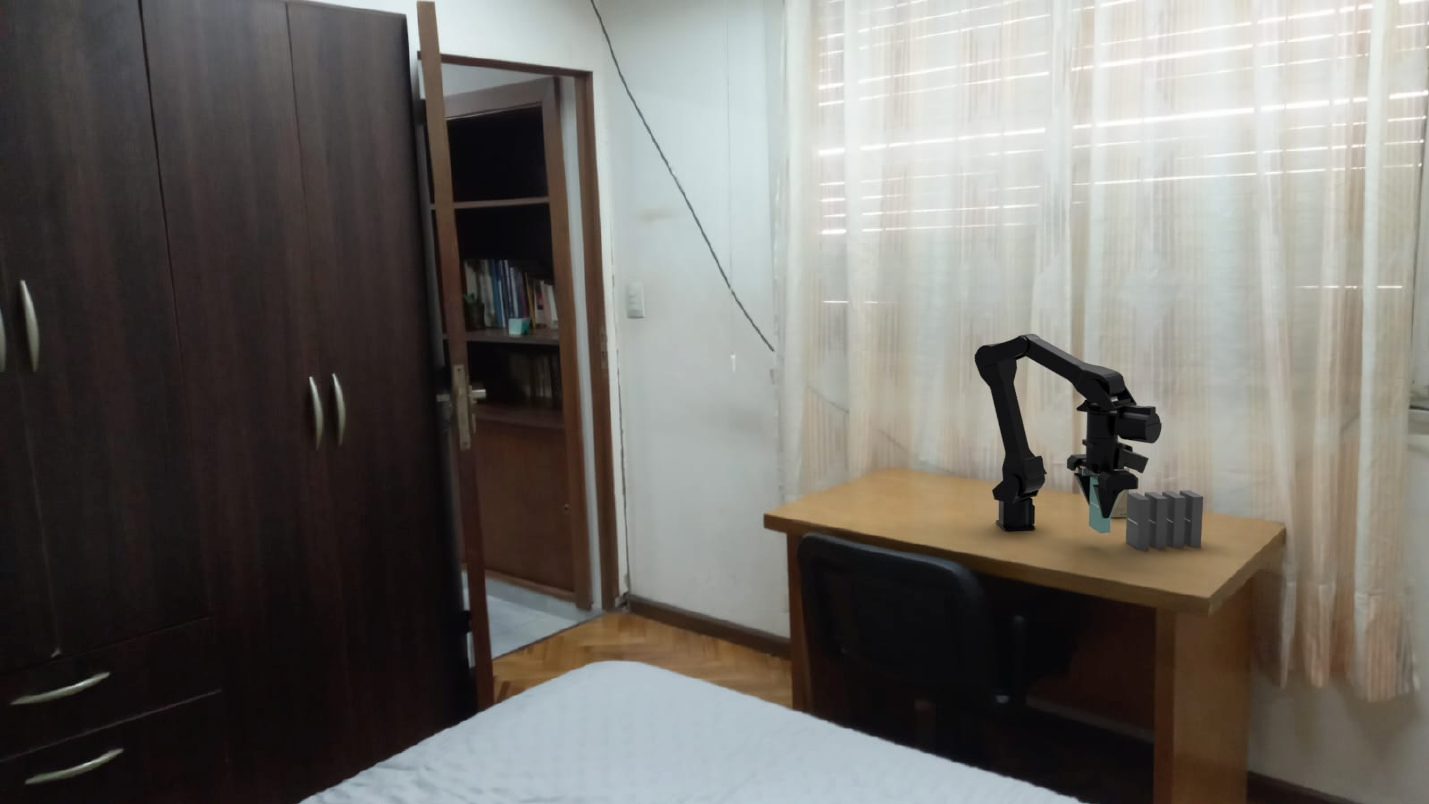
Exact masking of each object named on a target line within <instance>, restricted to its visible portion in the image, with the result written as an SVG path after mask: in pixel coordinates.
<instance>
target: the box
mask: <svg viewBox="0 0 1429 804" xmlns="http://www.w3.org/2000/svg"><path fill="white" fill-rule="evenodd" d="M1116 470H1117V469H1115V471H1116ZM1124 470H1126V471H1128V472H1130V468H1127V467H1124ZM1127 493H1130V490H1123V491H1122V492H1121V493H1119V495H1118V497H1117V499H1116V501H1115V504H1114V506H1113V509H1112V511H1111V518H1127Z"/></svg>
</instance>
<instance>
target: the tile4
mask: <svg viewBox="0 0 1429 804" xmlns="http://www.w3.org/2000/svg"><path fill="white" fill-rule="evenodd" d="M1161 495H1162V496H1164V497H1166V498H1168V499H1167V526H1166V545H1168V546H1169V547H1171V548H1172V549H1175V548H1177V549H1179V548H1184V544H1185V543H1184V520H1185V497H1183V496H1181V495H1179V493H1177V492H1175V491H1172V490H1169V491H1168V490H1166V491H1162V492H1161Z"/></svg>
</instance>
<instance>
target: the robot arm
mask: <svg viewBox="0 0 1429 804" xmlns="http://www.w3.org/2000/svg"><path fill="white" fill-rule="evenodd" d="M973 357H974V363H975V366H976V369H977V372H978V375H979V376H980V377H981V379H982V380H983V381H984V383H986V385H987V386H988V387H989V389H990V393H991V397H992V402H993V406H994V410H995V416H996V419H997V423H998V429H999V432H1000V435H1001V436H1000V437H1001V440H1002V446H1003V448H1004V454H1005V455H1004V458H1003V463H1002V466H1001V472H1002V473H1001V474H1002V480H1001V481H1000V482H999V483H998V484H997V485H996V486H995V487H993V489H992V490H991V492H992V495H993V499H994V501H998V519H996V520H995V524H997V525H998V527H1000V528H1001V529H1003V530H1004V531H1005V532H1007V531H1010V532H1011V531H1030V530H1032V531H1033V530H1036V526H1035V524H1036V523H1035V522H1036V517H1035V516H1036V506H1035V504H1033V503H1034V501H1033V500H1034V499H1033V497H1034V498H1035V497H1038V494H1039V491H1040V490H1041V488H1042V487H1043V486H1044V484H1045V483H1046V475H1047V474H1048V472H1047V471H1046V469H1045V466H1044V458H1043V456H1042V455H1035V454H1034V453H1033V452H1032V450H1031V448H1030V446H1029V442H1028V437H1027V433H1026V430H1025V425H1024V420H1023V417H1022V413H1021V408H1020V404H1019V400H1018V395H1017V391H1016V386H1015V379H1016V375H1017V370H1018V364H1017V363H1018V361H1019V360H1021V359H1024V358H1025V357H1027V358H1028V359H1030V360H1032V361H1033V362H1035V363H1037V364H1038V365H1040V366H1042V367H1044V368H1046V369H1047V370H1049V371H1051V372H1053V373H1054V374H1056V375H1058V376H1060V377H1062V378H1064V379H1065V380H1067V381H1068V382H1069V383H1070V384H1071V385H1072V386H1073V388H1074V389H1075V391H1076V392H1077V393H1078V394H1080V395H1081V397H1083V398H1084V401H1083V402H1082V403H1081V404H1080V405H1079V406H1077V407H1076V409H1075V410H1076V411H1077V412H1082V413H1086V432H1085V433H1086V434H1085V435H1086V436H1085V437H1086V438H1083V439H1082V440H1081V445H1082V446H1085V453H1083V454H1078V453H1077V454H1071V455H1070V456H1069V457H1068V458H1067V459H1066V469H1068V470H1069V471H1073V476H1074V477H1075V479H1076V481H1077V483H1078V485H1079V487H1080V489H1081V491H1082V493H1083V496H1084V498H1085V500H1086V502H1087V505H1088V506H1089V505H1090V477H1096V476H1098V484H1094V485H1093V487H1094V491H1095V494H1096V498H1097V501H1098V504H1099V508H1100V511H1101V514H1102V517H1103V518H1109V517H1110V514H1111V511H1112V509H1113V506H1114V504H1115V501H1116V499H1117V497H1118V495H1119V493H1121V492H1122V491H1123V490H1129V491H1130V490H1131V491H1132V490H1138V489H1139V478H1138V477H1137V476H1136V475H1135V474H1134V473H1133V472H1131V471H1129V472H1128V471H1126V470H1124V467H1127V468H1129V470H1134V471H1137V473H1140V474H1143V473H1144V471H1145V469H1146V466H1147V465H1148V461H1149V460H1150V459H1149V457H1147V456H1145V455H1142V454H1140V453H1137V452H1135V451H1134V447H1133V446H1132V445H1130V444H1127V443H1123V442H1121V441H1119V438H1120V440H1125V441H1126V440H1127V441H1132V442H1139V443H1143V444H1144V443H1145V444H1155V443H1156V442H1158V440H1159V438H1160V435H1161V433H1162V428H1163V427H1162V425H1163V423H1162V422H1161V418H1160V415H1159V414H1158V413H1157V408H1156V406H1155V405H1154V406H1151V405H1145V406H1144V405H1137V404H1138V403H1137V402H1136V399H1135V398H1134V397H1133V395H1132V393H1131V392H1130V391H1129V389H1128V388H1127V386H1126V382H1125V378H1124V376H1123V375H1122V374H1121V373H1120V372H1119V371H1118V370H1114V369H1111V368H1109V367H1104V366H1102V365H1096V364H1091V363H1087V362H1085V361H1083V360H1081V359H1080V358H1078V357H1075V356H1073V355H1072V354H1070V353H1068V352H1066V351H1065V350H1062V349H1061V348H1060V347H1057V346H1055V345H1053V344H1051V343H1049V342H1048V341H1046V340H1044V339H1042V338H1041V337H1040V336H1039V335H1037V334H1035V333H1028V334H1021V335H1018V336H1017V337H1014V338H1012V339H1009V340H1007V341H1003V342H996V343H991V344H989V343H988V344H984V345H980V346H979V348H978V349H977V351H976V353H974V356H973ZM1115 469H1117V470H1116V471H1115ZM1076 470H1077V472H1076Z"/></svg>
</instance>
